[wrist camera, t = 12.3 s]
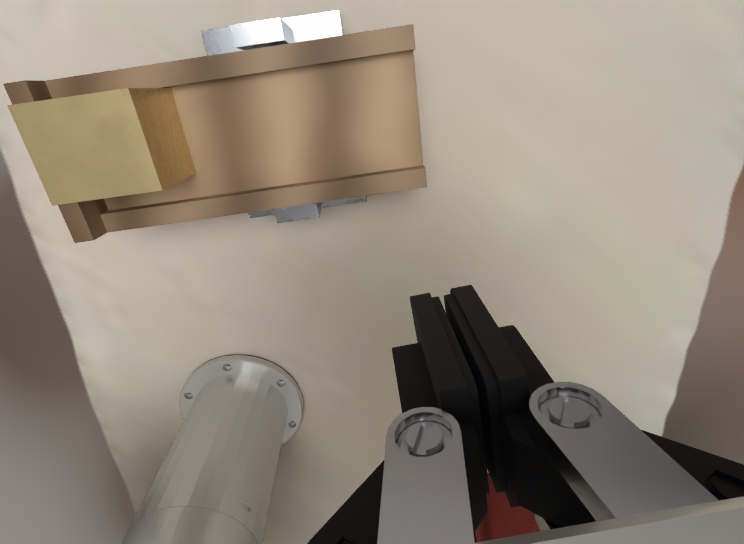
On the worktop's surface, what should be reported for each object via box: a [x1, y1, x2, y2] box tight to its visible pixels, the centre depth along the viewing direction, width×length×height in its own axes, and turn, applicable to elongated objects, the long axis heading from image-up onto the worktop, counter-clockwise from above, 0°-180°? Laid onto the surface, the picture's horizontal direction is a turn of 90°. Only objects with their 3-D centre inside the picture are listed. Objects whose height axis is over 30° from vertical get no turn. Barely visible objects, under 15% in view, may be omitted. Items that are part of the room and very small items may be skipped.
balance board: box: [4, 24, 427, 243], centre depth 25 cm, size 22×9×4 cm, turn 98°
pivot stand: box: [201, 10, 367, 223], centre depth 31 cm, size 21×14×7 cm
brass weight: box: [7, 88, 196, 206], centre depth 23 cm, size 6×5×5 cm
